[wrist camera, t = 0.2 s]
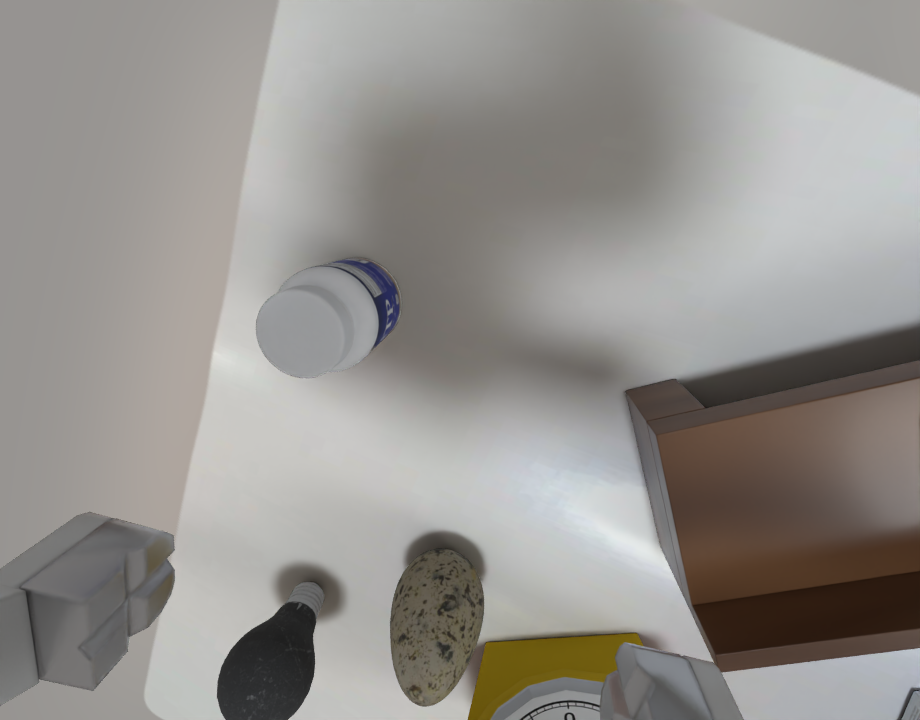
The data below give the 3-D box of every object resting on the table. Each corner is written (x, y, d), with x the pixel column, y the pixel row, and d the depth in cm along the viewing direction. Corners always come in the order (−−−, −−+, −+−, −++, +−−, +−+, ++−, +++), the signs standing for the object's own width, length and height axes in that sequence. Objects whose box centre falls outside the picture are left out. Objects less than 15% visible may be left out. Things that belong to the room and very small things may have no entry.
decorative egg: (417, 597, 34) (383, 742, 25) (397, 533, 33) (353, 662, 23) (493, 590, 33) (488, 738, 24) (477, 523, 32) (464, 654, 22)
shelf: (625, 390, 28) (677, 467, 19) (1047, 288, 24) (1350, 329, 15) (660, 547, 31) (718, 673, 22) (1038, 480, 27) (1284, 603, 18)
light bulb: (280, 550, 34) (193, 678, 25) (351, 565, 34) (291, 700, 25) (277, 606, 36) (196, 745, 27) (345, 620, 36) (287, 766, 26)
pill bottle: (379, 356, 29) (326, 414, 20) (306, 314, 28) (222, 355, 20) (419, 285, 27) (379, 316, 19) (342, 239, 27) (267, 249, 18)
